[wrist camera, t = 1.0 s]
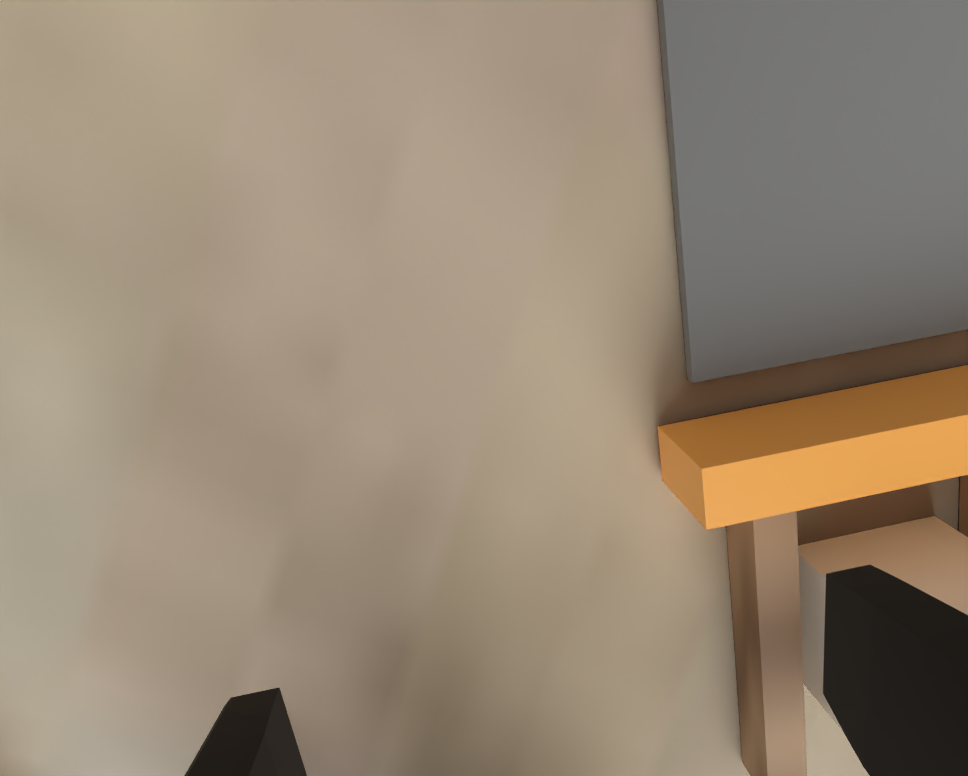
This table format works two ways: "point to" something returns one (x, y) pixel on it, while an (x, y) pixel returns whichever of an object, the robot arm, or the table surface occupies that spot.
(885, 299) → the slate mat
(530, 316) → the table surface
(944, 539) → the white block
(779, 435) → the orange bar
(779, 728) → the walnut channel
